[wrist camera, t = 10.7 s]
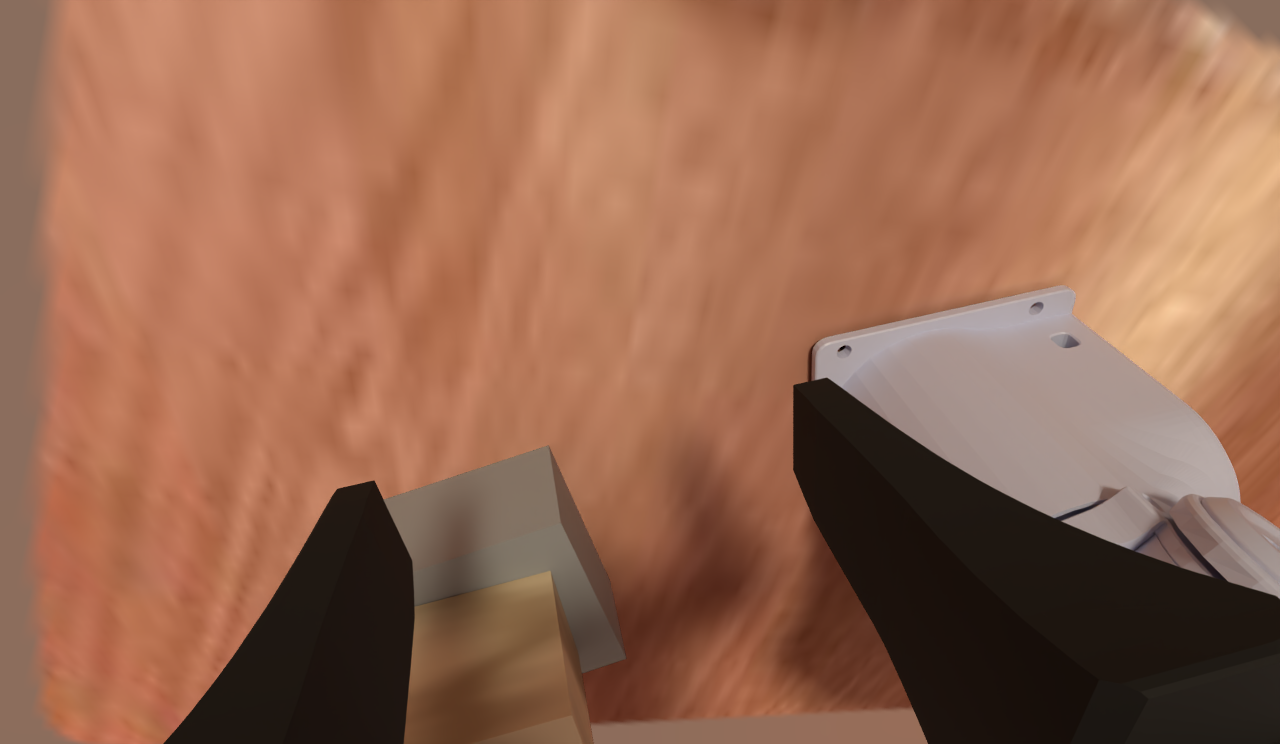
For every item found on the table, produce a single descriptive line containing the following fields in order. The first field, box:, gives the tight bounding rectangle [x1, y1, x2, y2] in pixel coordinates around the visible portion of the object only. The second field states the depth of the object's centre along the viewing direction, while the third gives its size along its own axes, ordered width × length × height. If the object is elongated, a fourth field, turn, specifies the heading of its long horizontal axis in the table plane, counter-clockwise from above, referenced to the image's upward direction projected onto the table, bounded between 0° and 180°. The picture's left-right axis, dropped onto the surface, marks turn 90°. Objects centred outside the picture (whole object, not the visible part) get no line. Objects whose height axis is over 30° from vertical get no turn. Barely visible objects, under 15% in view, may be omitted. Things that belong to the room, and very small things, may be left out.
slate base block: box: [384, 445, 627, 673], centre depth 27 cm, size 8×8×4 cm
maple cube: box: [404, 571, 594, 744], centre depth 24 cm, size 5×5×5 cm
